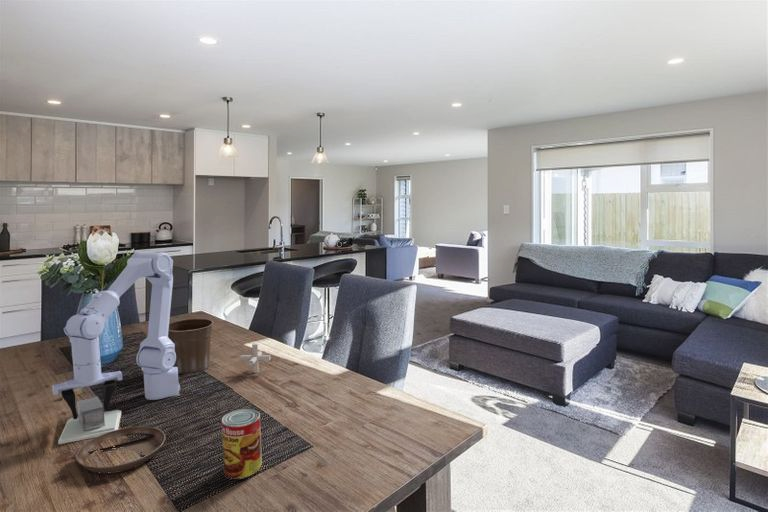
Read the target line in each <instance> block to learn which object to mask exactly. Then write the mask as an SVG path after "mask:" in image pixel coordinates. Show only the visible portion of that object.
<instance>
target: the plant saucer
mask: <svg viewBox="0 0 768 512" xmlns="http://www.w3.org/2000/svg"><path fill="white" fill-rule="evenodd" d="M134 434H136V435H137V434H148V435H151V436H148V437H144V438H139V439H136V440H132V441H127V442H124V443H120V444H116V445H111V446H107V448H106V447H103V448H99V449H100V450H103V451H102V452H104V453H103V454H105V453H106V452H107V453H111V455H112V454H114V453H115V452H116V451H117V450H118V448H119V449H126V450H119V451H127V450H131V451H136V453H139V454H142V455H145V456H144V457H141V458H139V459H137V460H134V461H131V462H128V463H124V464H119V465H114V466H104V467H96V466H89V465H85V460H86V458H87V457H89V455H90V454H92V453H93V452H94V451H96V450H97V449H95V450H92V449H94V448H95V447H96V446H99V445H101V444H102V443H105V442H107V441H110V440H113V439H116V438H120V437H123V436H128V435H134ZM165 440H166V434H165V432H164V431H163V430H161V429H159V428H157V427H152V426H142V425H141V426H130V427H124V428H118V430H115V431H111V432H108V433H105V434H103V435H100V436H98V437H94V438H91V440H89V441H87V442H85V443H84V444H83V445H82V446H81V447H80V448H79V449H78V450H77V453H75V454H76V455H75V460H76V461H77V462H78V464H80V465H81V466H82V467H83V468H85V469H86V470H87V471H89V470H90V471H89V472H92V471H93V472H92V473H95V472H100V473H99V474H101V473H108V472H116V471H122V470H126V469H129V470H131V469H130V468H132V467H135V466H137V467H139V466H141V465H143V464H144V462H145V463H146V461H147V462H149V461H150V460H151V459H152V458H154V456H155V455H156V454H157V453H158V452H159V450H160V449H161V448H162V446H163V444H164V443H165ZM113 446H115V447H113ZM120 447H124V448H120ZM112 448H116V449H112ZM108 451H111V452H108ZM127 452H128V451H127ZM140 452H142V453H140ZM150 452H151V453H150ZM149 459H150V460H149ZM142 463H143V464H142ZM140 464H141V465H140ZM138 465H139V466H138ZM135 468H136V467H135ZM132 469H133V468H132ZM126 471H127V470H126ZM122 472H123V471H122Z"/></svg>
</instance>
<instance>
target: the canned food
mask: <svg viewBox="0 0 768 512" xmlns="http://www.w3.org/2000/svg"><path fill="white" fill-rule="evenodd" d="M261 430H262V429H261V413H260V412H259V411H258V410H255V409H252V408H240V409H235V410H232V411H229V412H228V413H226V414H225V415H223V417H222V418H221V434H222V435H221V438H222V456H223V474H224V473H225V475H226V476H229V477H232V478H243V477H247V476H250V475H252V474H254V473H255V472H257V471H258V470H259V469H260V467H261V465H262V466H263V462H262V460H263V459H262V436H261V434H262V433H261V432H262V431H261ZM225 475H224V476H225ZM226 476H225V477H226Z"/></svg>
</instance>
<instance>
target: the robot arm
mask: <svg viewBox="0 0 768 512" xmlns="http://www.w3.org/2000/svg"><path fill="white" fill-rule="evenodd" d="M173 267H174V260H173V258H171V256H170V254H168V253H166V252H161V251H160V252H155V251H154V252H153V251H151V252H150V251H139V250H138V251H136V252H134V253H133V254H132V255H131V257H129V258H128V259H127V261H126V266H125V268H123V270H122V271H121V273H120V274H119V275H118V276H117V278H116V279H115V280H114V281H113V282H112V283H111V285H110V286H109V288H107V290H101V291H99V292H95V294H94V295H93V296H92V297H93V298H92V299H91V300H90V301H89V303H88V304H87V305H86V306H84V307H83V308H82V309H81V310H80V311H79V314H78V313H77V314H75V315H72V316H71V317H69V318H68V320H67V321H66V324H65V326H64V327H63V332H64V333H65V334H64V335H66V337H67V336H68V338H69V343H71V345H70V346H71V355H72V367H73V379H69V380H67V381H64V382H60V383H57V384H52V385H51V387H52V395H53V396H56V395H59V394H61V396H62V399H63V400H64V401H65V403H66V404H67V406H68V407H69V408H70V411H71V413H72V418H74V419H77V417H78V410H77V407H76V405H77V403H76V395H75V394H74V390H75V389H79V388H83V389H84V388H88V387H92V386H93V387H94V386H96V385H97V386H98V385H102V394H103V407H104V412H108V411H109V408H110V402H111V400H112V399H111V398H112V396H113V393H114V391H115V389H116V388H117V383H116V381H118V382H119V381H122V380H123V373H122V372H121V370H118V371H117V370H116V371H112V372H111V371H110V372H102V363H101V354H100V353H101V351H100V342H99V341H100V340H99V337H100V336H99V335H101V334H102V333H103V331H104V329H105V324H106V322H107V319H108V318H110V316H111V315H112V314H113V312H114V311H115V310H116V309H118V307H119V306H120V304H121V303H120V298H121V297H122V295H124V293H126V291H128V290H129V289H130V288H131V286H133V285H134V284H135V283H136V282H137V281H138V280H139V279H140V278H146V279H147V280H148V281H149V282H150V284H151V292H150V293H151V297H150V305H149V316H148V317H149V318H148V328H147V336H146V338H145V339H143V340H142V341H141V342H140V345H139V350H138V351H137V353H136V357H135V358H136V360H135V361H136V364H137V365H138V366H139V367H140V368H141V371H143V383H144V397H145V399H146V400H149V401H150V400H152V401H155V400H156V401H157V400H161V399H165V398H169V397H176V396H180V391H181V385H180V384H179V374H178V367H173V366H174V364H175V361H176V353H175V344H174V343H173V342H172V341H171V340H170V339H169V338H168V330H169V323H170V318H171V309H172V307H171V306H172V305H171V304H172V298H173V286H174V275H173Z"/></svg>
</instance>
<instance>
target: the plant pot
mask: <svg viewBox="0 0 768 512" xmlns="http://www.w3.org/2000/svg"><path fill="white" fill-rule="evenodd" d="M213 326H214V320H212V319H207V318H186V319H179V320H174V321H171V322H169V330H168V338H169V339H170V340H171V341H172V342H173V343H174V344H175V353H176V361H175V364H174V366H173V367H178V375H187V374H188V375H189V374H193V373H195V372H196V373H198V372H203V371H206V370H207V369H208V368H210V363H211V361H210V360H211V338H212V333H213Z"/></svg>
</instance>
